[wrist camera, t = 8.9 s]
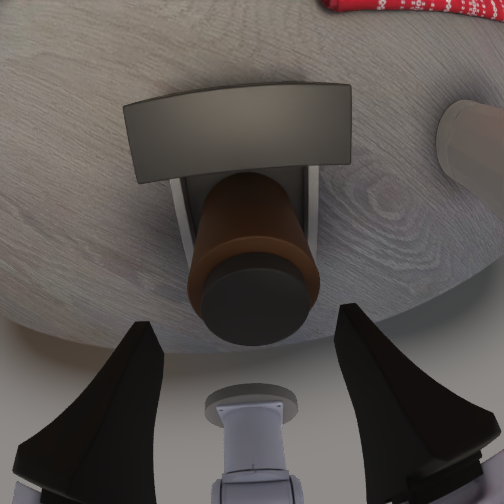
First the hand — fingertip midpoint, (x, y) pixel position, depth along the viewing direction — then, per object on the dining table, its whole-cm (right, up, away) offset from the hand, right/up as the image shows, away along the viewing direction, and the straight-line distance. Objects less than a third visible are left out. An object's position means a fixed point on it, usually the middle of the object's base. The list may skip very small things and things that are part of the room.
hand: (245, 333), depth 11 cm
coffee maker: (0, +7, +6) cm, 9 cm away
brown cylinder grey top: (0, +5, +6) cm, 8 cm away
